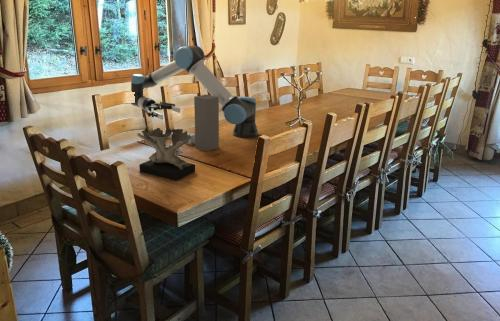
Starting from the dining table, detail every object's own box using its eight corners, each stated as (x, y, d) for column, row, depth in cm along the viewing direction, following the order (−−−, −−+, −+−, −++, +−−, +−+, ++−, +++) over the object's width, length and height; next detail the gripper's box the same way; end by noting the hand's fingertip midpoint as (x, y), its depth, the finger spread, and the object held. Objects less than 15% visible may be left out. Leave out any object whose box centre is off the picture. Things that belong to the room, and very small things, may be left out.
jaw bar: (163, 137, 241) (163, 129, 239) (169, 135, 245) (169, 127, 243) (190, 144, 229) (190, 136, 227) (196, 142, 232) (196, 134, 231)
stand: (195, 147, 224) (194, 96, 214) (207, 144, 230) (206, 94, 221) (207, 151, 218) (206, 99, 209) (218, 147, 225) (218, 96, 216)
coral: (201, 173, 187) (200, 128, 180) (171, 188, 171) (169, 138, 164) (160, 163, 200) (158, 120, 193) (128, 175, 183) (125, 129, 176)
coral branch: (173, 166, 206) (165, 155, 198) (165, 156, 211) (157, 145, 202) (187, 156, 208) (181, 144, 200) (179, 146, 212) (172, 134, 204)
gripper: (163, 104, 260) (186, 114, 249) (130, 115, 242) (154, 125, 231) (162, 93, 256) (186, 102, 245) (129, 103, 239) (154, 113, 228)
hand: (171, 113), depth 238 cm, fingers open, 13 cm apart
